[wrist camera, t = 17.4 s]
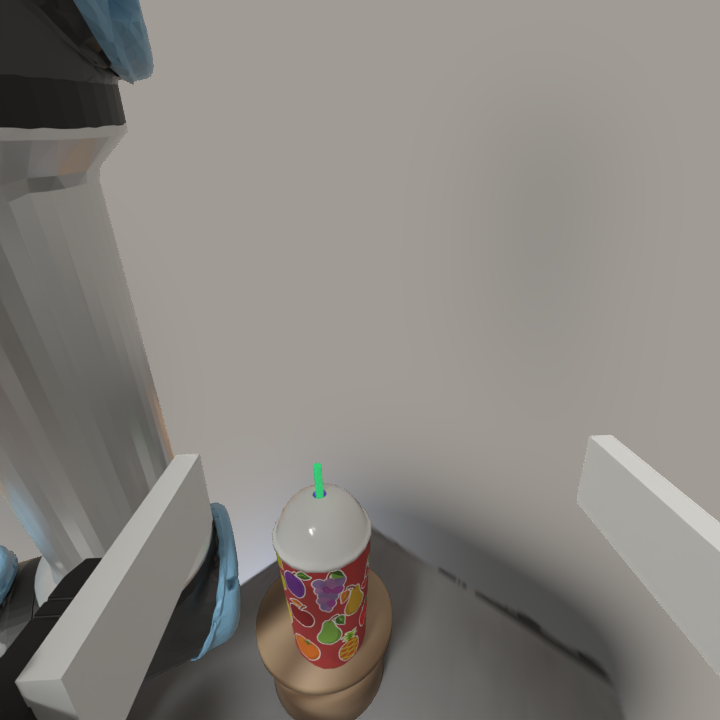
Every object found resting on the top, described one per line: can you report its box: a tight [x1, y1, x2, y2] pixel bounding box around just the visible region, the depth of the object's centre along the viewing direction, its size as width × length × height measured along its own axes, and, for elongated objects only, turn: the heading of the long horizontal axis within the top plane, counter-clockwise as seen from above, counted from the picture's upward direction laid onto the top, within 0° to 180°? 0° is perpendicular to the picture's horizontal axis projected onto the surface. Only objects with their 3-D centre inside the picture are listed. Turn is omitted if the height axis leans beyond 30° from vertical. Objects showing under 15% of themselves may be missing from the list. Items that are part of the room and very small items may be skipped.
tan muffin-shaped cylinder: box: [256, 568, 392, 720], centre depth 41 cm, size 14×14×8 cm
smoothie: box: [272, 463, 371, 669], centre depth 34 cm, size 8×8×20 cm
